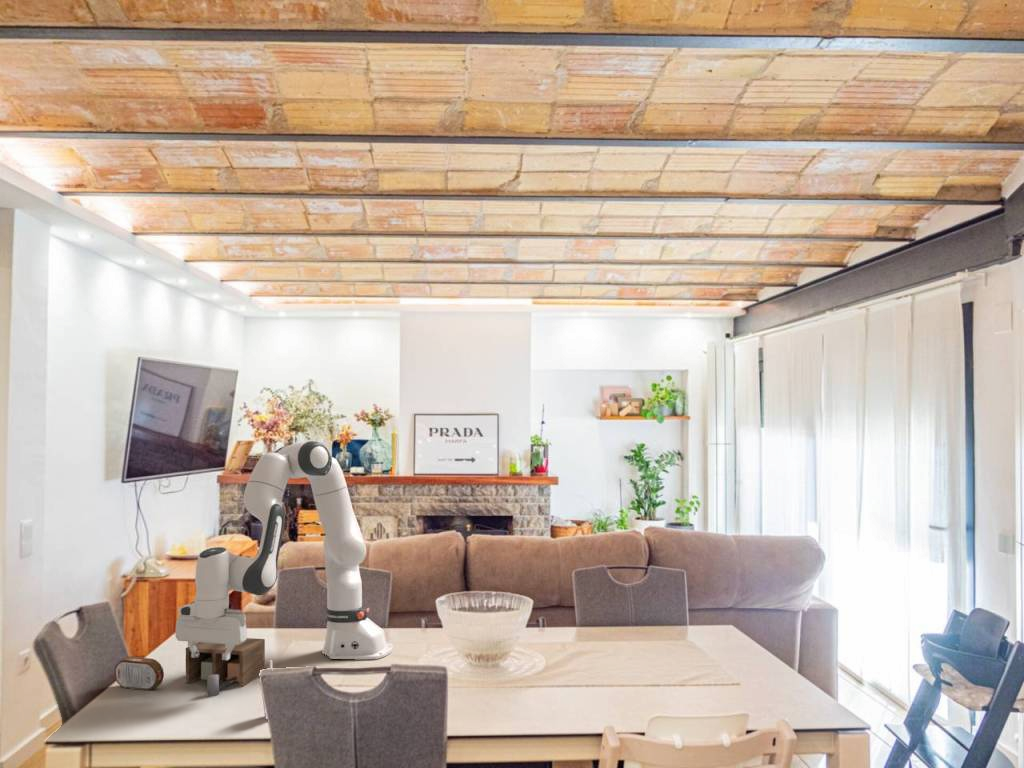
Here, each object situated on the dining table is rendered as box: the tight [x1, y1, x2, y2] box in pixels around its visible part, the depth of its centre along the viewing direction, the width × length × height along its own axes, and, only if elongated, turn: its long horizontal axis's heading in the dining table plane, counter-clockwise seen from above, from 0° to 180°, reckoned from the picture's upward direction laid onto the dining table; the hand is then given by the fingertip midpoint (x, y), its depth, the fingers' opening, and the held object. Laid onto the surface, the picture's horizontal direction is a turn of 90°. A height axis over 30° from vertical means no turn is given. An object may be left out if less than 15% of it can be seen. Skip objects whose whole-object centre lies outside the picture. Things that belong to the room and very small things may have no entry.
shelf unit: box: [185, 637, 266, 688], centre depth 229 cm, size 18×12×10 cm, turn 78°
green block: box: [200, 657, 212, 680], centre depth 230 cm, size 5×6×5 cm
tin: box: [114, 656, 165, 691], centre depth 221 cm, size 15×3×8 cm, turn 74°
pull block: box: [206, 657, 240, 697], centre depth 222 cm, size 5×18×5 cm, turn 168°
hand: (210, 658), depth 215 cm, fingers open, 8 cm apart
